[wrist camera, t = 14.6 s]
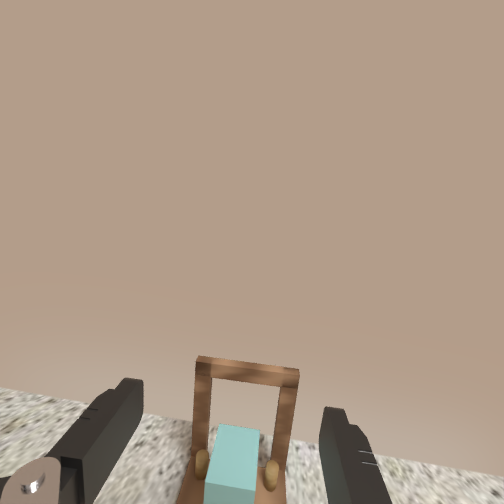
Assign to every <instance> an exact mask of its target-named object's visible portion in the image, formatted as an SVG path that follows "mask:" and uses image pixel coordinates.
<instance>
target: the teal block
mask: <svg viewBox="0 0 504 504" xmlns="http://www.w3.org/2000/svg"><path fill="white" fill-rule="evenodd" d="M259 435H260V430H256V429H250V428H243V427H237V426H231V425H225V424H219V428H218V432H217V436H216V440H215V444H214V448H213V452H212V456H211V460H210V464H209V468H208V472H207V476H206V480H205V488H204V503H203V504H254V498H255V490H256V476H257V462H258V448H259Z"/></svg>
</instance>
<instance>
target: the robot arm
mask: <svg viewBox="0 0 504 504" xmlns="http://www.w3.org/2000/svg"><path fill="white" fill-rule="evenodd" d="M142 414H143V381H142V380H139V379H132V378H124V379H123V380H122V381H121V382H120V383H119V385H118V386H117V387H116V388H115V390H114V389H108V390H107V391H105V392H104V393H102V394H101V395H99V396H98V397H96V399H95V400H94V401H93V402H92V403H91V404H90V405H89V407H88V408H87V410H85V411H84V412H83V413H82V415H81V416H80V417H79V419H77V420H76V421H75V423H74V424H73V425H72V426H71V427H70V428H69V429H68V431H67V432H66V433H65V434H64V435H63V436H62V438H61V439H60V440H59V441H58V442H57V443H56V444H55V446H54V447H53V448H52V449H51V450H50V451H49V452H48V454H47V455H46V456H45V457H43V458H39V459H36V460H33V461H31V462H29V463H27V464H26V465H24V466H23V467H21V468H20V469H19V470H17V471H16V472H15V473H14V474H13V475H12V476H9V477H4V478H0V504H93V502H94V500H95V499H96V497H97V495H98V494H99V492H100V490H101V488H102V487H103V485H104V483H105V482H106V480H107V478H108V476H109V475H110V473H111V471H112V470H113V468H114V466H115V464H116V463H117V461H118V459H119V458H120V456H121V454H122V452H123V451H124V449H125V447H126V446H127V444H128V442H129V440H130V439H131V437H132V435H133V434H134V432H135V430H136V428H137V427H138V425H139V423H140V421H141V418H142ZM319 453H320V459H321V464H322V470H323V475H324V481H325V486H326V492H327V498H328V503H329V504H392V501H391V499H390V496H389V494H388V491H387V488H386V486H385V483H384V481H383V478H382V475H381V473H380V470H379V468H378V466H377V463H376V460H375V457H374V455H373V454H372V450H371V447H370V444H369V442H368V439H367V437H366V436H365V435H364V433H363V432H362V431H361V430H360V428H359V427H358V426H357V425H351V424H349V422H348V419H347V416H346V413H345V411H344V409H340V408H333V407H325V408H324V412H323V418H322V423H321V429H320V434H319Z"/></svg>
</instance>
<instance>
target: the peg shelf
mask: <svg viewBox="0 0 504 504" xmlns="http://www.w3.org/2000/svg"><path fill="white" fill-rule="evenodd" d="M299 377H300V374H299V369H295V368H287V367H280V366H272V365H264V364H257V363H249V362H242V361H235V360H227V359H219V358H212V357H205V356H198V358H197V360H196V368H195V388H194V407H193V408H194V409H193V427H192V447H191V458H190V461H189V464H188V468H187V471H186V474H185V477H184V480H183V483H182V487H181V490H180V493H179V496H178V499H177V503H176V504H203V503H204V488H205V480H206V476H207V472H208V468H209V464H210V460H211V459H209V453H208V451H207V448H208V433H209V418H210V404H211V388H212V378H219V379H227V380H234V381H241V382H249V383H255V384H263V385H270V386H278V387H280V393H279V400H278V408H277V415H276V422H275V430H274V437H273V444H272V451H271V458H270V460H269V461H268V462H267V464H266V468H263V467H257V476H256V490H255V498H254V504H286V485H285V467H286V461H287V454H288V448H289V441H290V435H291V429H292V422H293V416H294V409H295V403H296V396H297V390H298V383H299Z"/></svg>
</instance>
